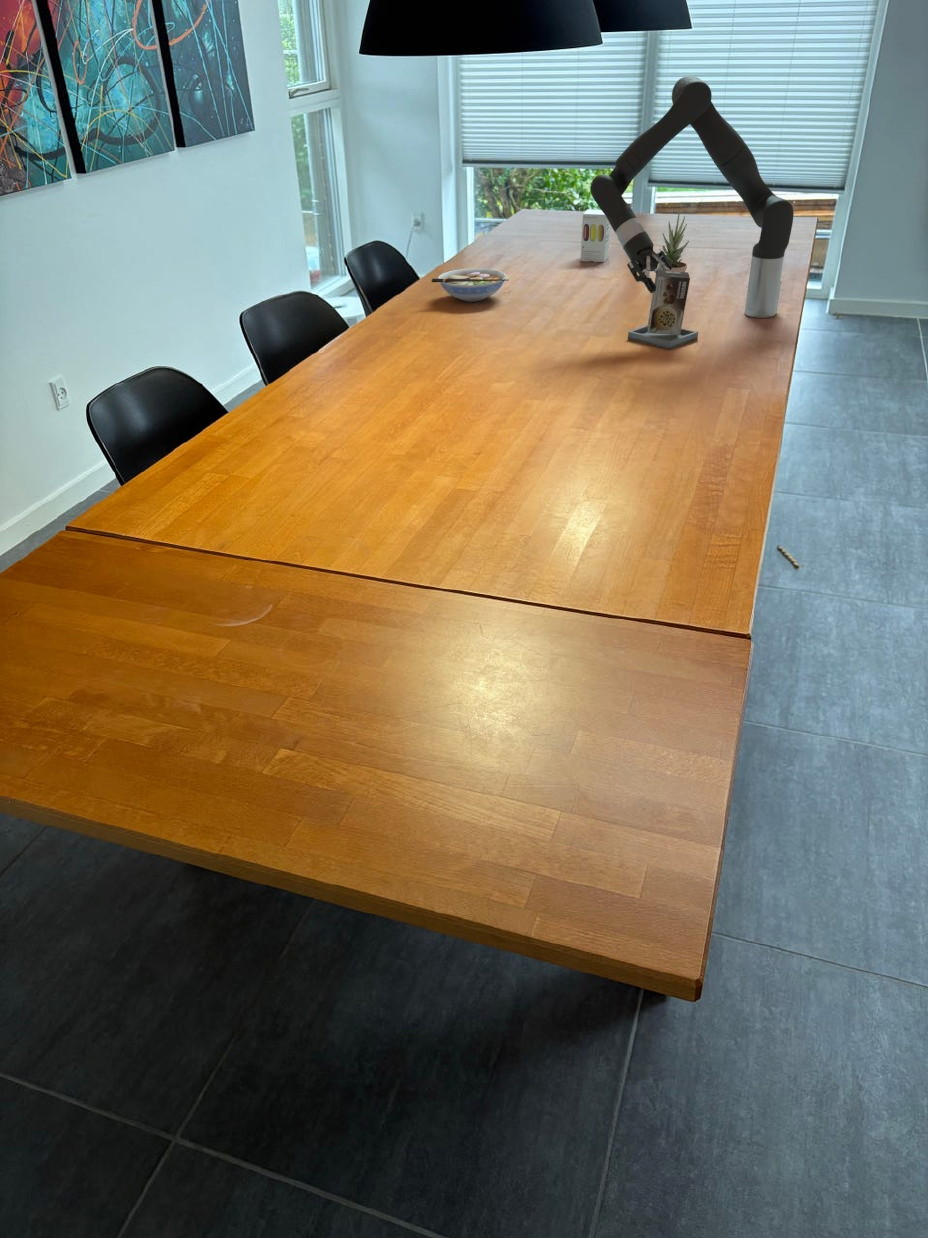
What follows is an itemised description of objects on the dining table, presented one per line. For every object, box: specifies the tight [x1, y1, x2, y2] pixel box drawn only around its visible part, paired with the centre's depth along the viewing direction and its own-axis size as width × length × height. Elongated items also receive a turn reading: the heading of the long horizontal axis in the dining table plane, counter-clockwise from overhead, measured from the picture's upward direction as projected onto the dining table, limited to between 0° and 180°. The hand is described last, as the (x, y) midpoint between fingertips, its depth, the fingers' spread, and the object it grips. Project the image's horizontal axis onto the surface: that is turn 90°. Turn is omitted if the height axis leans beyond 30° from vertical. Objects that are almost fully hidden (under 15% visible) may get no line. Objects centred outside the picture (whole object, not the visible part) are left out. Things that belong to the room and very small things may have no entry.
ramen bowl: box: [431, 267, 509, 303], centre depth 312 cm, size 25×23×8 cm
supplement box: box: [580, 208, 611, 263], centre depth 351 cm, size 10×9×17 cm
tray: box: [627, 324, 699, 351], centre depth 270 cm, size 13×15×2 cm
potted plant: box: [659, 208, 690, 272], centre depth 313 cm, size 10×10×25 cm
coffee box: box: [647, 270, 691, 335], centre depth 265 cm, size 9×6×16 cm
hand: (663, 288), depth 264 cm, fingers closed on coffee box, 7 cm apart
